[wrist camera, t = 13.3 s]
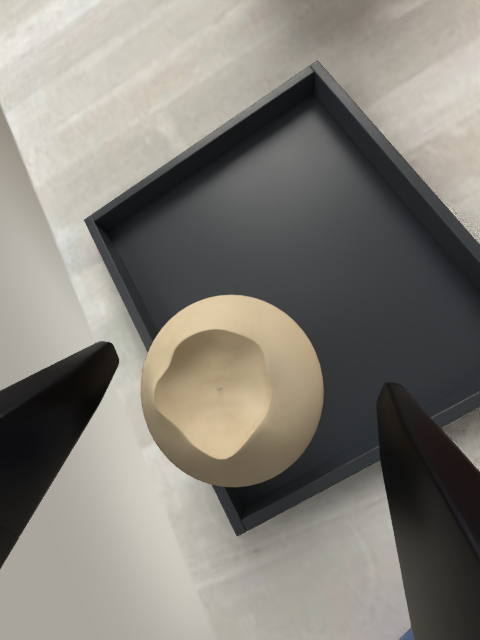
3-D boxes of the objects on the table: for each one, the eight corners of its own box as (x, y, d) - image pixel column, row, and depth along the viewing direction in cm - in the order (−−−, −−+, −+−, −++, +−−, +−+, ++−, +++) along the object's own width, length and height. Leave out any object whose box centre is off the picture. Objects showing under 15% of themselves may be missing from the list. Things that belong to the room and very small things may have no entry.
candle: (312, 418, 15) (350, 517, 6) (218, 424, 16) (111, 517, 7) (299, 322, 16) (313, 265, 7) (211, 332, 17) (107, 296, 7)
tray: (243, 514, 16) (237, 537, 14) (104, 233, 20) (83, 219, 18) (536, 355, 14) (577, 354, 12) (314, 91, 19) (317, 59, 17)
